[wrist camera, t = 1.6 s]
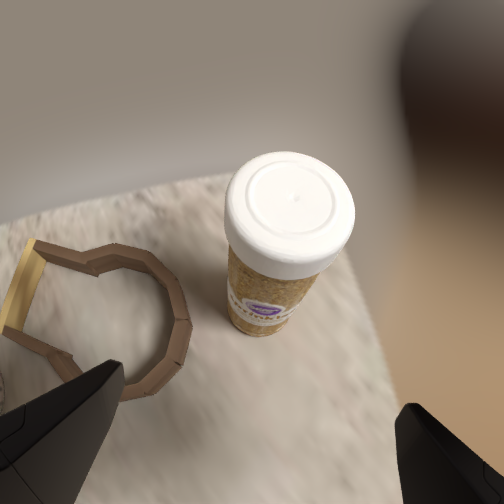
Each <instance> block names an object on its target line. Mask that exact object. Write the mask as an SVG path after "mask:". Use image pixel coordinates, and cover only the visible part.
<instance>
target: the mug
mask: <svg viewBox="0 0 504 504" xmlns="http://www.w3.org/2000/svg"><path fill="white" fill-rule="evenodd" d="M4 394H5V392H4V382H3V378H2V374H1V371H0V413H1V411H2V408H3V404H4Z"/></svg>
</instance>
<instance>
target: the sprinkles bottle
mask: <svg viewBox="0 0 504 504" xmlns="http://www.w3.org/2000/svg"><path fill="white" fill-rule="evenodd" d="M354 220H355V208H354V202H353V199H352V195H351V193H350V191H349V189H348V187H347V185H346V184H345V182H344V181H343V180H342V178H341V177H340V176H339V175H338V174H337V173H336V172H335V171H334V170H333V169H331V168H330V167H329V166H327V165H326V164H324V163H323V162H321V161H319V160H317V159H315V158H313V157H310V156H307V155H304V154H300V153H295V152H273V153H267V154H264V155H260V156H258V157H255V158H253V159H251V160H250V161H248V162H247V163H245V164H244V165H243V166H242V167H240V168H239V169H238V171H237V172H236V173H235V174H234V175H233V177H232V179H231V181H230V182H229V185H228V187H227V191H226V196H225V211H224V226H225V233H226V237H227V240H228V242H229V255H228V256H229V259H228V267H229V269H228V270H229V272H228V276H227V290H228V301H227V308H228V314H229V316H230V318H231V321H232V322H233V324H234V325H235V326H236V327H237V328H238V329H240V330H241V331H243V332H245V333H246V334H249V335H251V336H256V337H261V336H268V335H271V334H273V333H275V332H277V331H279V330H280V329H281V328H282V327H283V326H284V325H285V324H286V322H287V320H288V319H289V317H290V316H291V315H292V313H293V312H294V311H295V309H296V308H297V307H298V305H299V304H300V303H301V301H302V300H303V299H304V297H305V295H306V294H307V292H308V290H309V289H310V288H311V286H312V285H313V283H314V282H315V280H316V278H317V276H318V274H319V273H320V272H321V271H323V270H324V269H325V268H327V267H328V266H329V265H330V264H331V263H332V262H333V261H334V259H335V258H336V257H337V255H338V254H339V252H340V251H341V249H342V248H343V246H344V245H345V243H346V242H347V240H348V238H349V237H350V234H351V232H352V229H353V226H354Z"/></svg>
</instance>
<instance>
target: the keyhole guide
mask: <svg viewBox="0 0 504 504" xmlns="http://www.w3.org/2000/svg"><path fill="white" fill-rule="evenodd" d="M46 262H50V263H53V264H57V265H60V266H63V267H66V268H69V269H73V270H76V271H79V272H83V273H86V274H89V275H93V276H96V277H98V276H99V274H101V273H104V272H108V271H111V270H115V269H118V268H122V267H124V268H128V269H132V270H136V271H140V272H144V273H148V274H151V275H152V276H153V277H154V278H155V279H156V280H157V281H158V282H159V283H160V284H161V285H162V286H163V287H164V288H165V289H166V290H167V291H168V293H169V297H170V301H171V305H172V309H173V313H174V317H175V322H174V326H173V330H172V333H171V337H170V341H169V345H168V348H167V352H166V356H165V357H164V358H163V359H162V360H161V361H160V362H159V363H158V364H157V365H156V366H155V367H154V368H153V369H152V370H151V371H150V372H149V373H148V374H147V375H146V376H145V377H144V378H143V379H142V380H141V381H140V382H139V383H136V384H131V385H126V386H124V390H123V392H122V395H121V398H120V401H119V402H122V401H127V400H132V399H137V398H142V397H146V396H151V395H154V394H156V393H157V392H158V391H159V390H160V389H161V388H162V387H163V386H164V385H165V384H166V383H167V382H168V381H169V380H170V379H171V378H172V377H173V376H174V375H175V374H176V373H177V372H178V371H179V370H180V369H181V368H182V367H181V366H180V365H184V361H185V357H186V353H187V349H188V345H189V341H190V337H191V333H192V329H193V328H192V327H193V326H192V323H191V319H190V315H189V312H188V308H187V305H186V301H185V297H184V293H183V290H182V288H181V286H180V284H179V281H178V279H177V278H176V277H175V276H174V275H173V274H172V273H171V272H170V271H169V270H168V269H167V268H166V267H165V266H164V265H163V264H162V263H161V262H160V261H159V260H158V259H157V258H156V257H155V256H154V255H153V254H152V253H151V252H149V251H147V250H143V249H138V248H134V247H130V246H126V245H121V244H117V243H115V244H114V243H112V244H108V245H105V246H102V247H98V248H95V249H92V250H88V251H85V252H79V251H75V250H72V249H68V248H65V247H61V246H57V245H54V244H50V243H47V242H43V241H40V240H36V239H33V238H29V240H28V243H27V245H26V247H25V249H24V252H23V254H22V256H21V259H20V261H19V264H18V266H17V269H16V271H15V274H14V276H13V279H12V282H11V284H10V287H9V290H8V293H7V295H6V298H5V301H4V304H3V307H2V310H1V313H0V334H2V335H4V336H6V337H8V338H9V339H11V340H13V341H15V342H17V343H19V344H21V345H23V346H24V347H26V348H28V349H30V350H32V351H34V352H36V353H38V354H41V355H43V356H45V357H47V359H48V360H49V362H50V363H51V365H52V366H53V367H54V369H55V370H56V372H57V373H58V374H59V376H60V377H61V379H62V380H63V381H64V383H66V382H68V381H70V380H72V379H74V378H76V377H77V376H79V375H81V374H83V372H82V371H81V370H80V368H79V367H78V366H77V365H76V363H75V362H74V361H73V359H72V357H73V355H71V354H69V353H66V352H64V351H62V350H59V349H57V348H55V347H53V346H50V345H48V344H46V343H44V342H42V341H39V340H37V339H35V338H33V337H31V336H29V335H27V334H25V333H23V332H22V329H23V326H24V323H25V319H26V316H27V313H28V310H29V307H30V304H31V301H32V298H33V296H34V293H35V290H36V287H37V285H38V282H39V279H40V277H41V274H42V272H43V269H44V266H45V264H46Z"/></svg>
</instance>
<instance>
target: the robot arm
mask: <svg viewBox="0 0 504 504" xmlns="http://www.w3.org/2000/svg"><path fill="white" fill-rule="evenodd" d="M124 386H125V377H124V369H123V364H122V363H121V362H119V361H115V360H112V359H110V360H107V361H105V362H104V363H102V364H100V365H98V366H96V367H94V368H92V369H91V370H89V371H87V372H85V373H83V374H81V375H79V376H77V377H76V378H74V379H72V380H70V381H68V382H66V383H64V384H62V385H60V386H59V387H57V388H55V389H53V390H51V391H49V392H47V393H45V394H43V395H41V396H39V397H37V398H36V399H34V400H32V401H30V402H28V403H26V405H25V404H24V405H22V406H20V407H18V408H16V409H14V410H12V411H10V412H7V413H5V414H3V415H1V416H0V504H74V502H75V500H76V498H77V496H78V494H79V491H80V489H81V487H82V485H83V483H84V481H85V478H86V476H87V474H88V472H89V470H90V468H91V466H92V464H93V461H94V459H95V457H96V455H97V453H98V451H99V449H100V447H101V445H102V443H103V441H104V439H105V437H106V435H107V433H108V430H109V428H110V426H111V423H112V421H113V418H114V415H115V412H116V409H117V406H118V403H119V401H120V398H121V395H122V392H123V390H124ZM395 437H396V451H397V464H398V471H399V477H400V483H401V490H402V497H403V504H504V477H503V476H502V475H500V474H499V473H498V472H496V471H495V470H494V469H493V468H492V467H490V466H489V465H488V464H487V463H486V462H485V461H483V460H482V459H481V458H480V457H479V456H478V455H477V454H476V453H474V452H473V451H472V450H471V449H470V448H469V447H468V446H466V445H465V444H464V443H463V442H462V441H461V440H460V439H458V438H457V437H456V436H455V435H454V434H453V433H451V432H450V431H449V430H448V429H447V428H446V427H445V426H443V425H442V424H441V423H440V422H439V421H438V420H437V419H436V418H434V417H433V416H432V415H431V414H430V413H429V412H427V411H426V410H425V409H424V408H423V407H422V406H421V405H420V404H418V403H407V404H405V406H404V407H403V409H402V410H401V412H400V414H399V415H398V417H397V418H396V421H395Z"/></svg>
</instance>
